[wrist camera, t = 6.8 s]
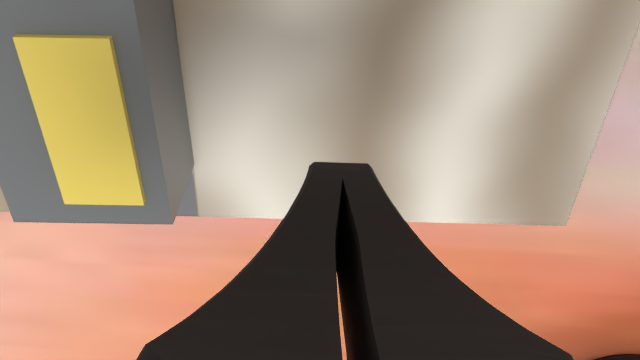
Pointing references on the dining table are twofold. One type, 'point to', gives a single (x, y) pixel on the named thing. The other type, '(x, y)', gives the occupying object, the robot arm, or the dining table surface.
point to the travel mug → (622, 357)
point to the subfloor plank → (401, 101)
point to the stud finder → (92, 112)
